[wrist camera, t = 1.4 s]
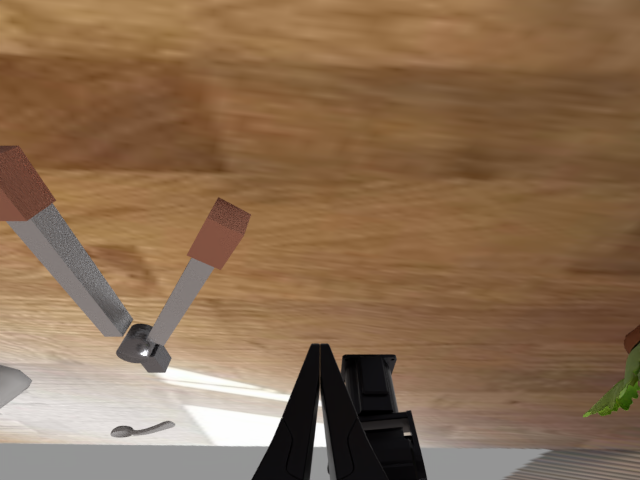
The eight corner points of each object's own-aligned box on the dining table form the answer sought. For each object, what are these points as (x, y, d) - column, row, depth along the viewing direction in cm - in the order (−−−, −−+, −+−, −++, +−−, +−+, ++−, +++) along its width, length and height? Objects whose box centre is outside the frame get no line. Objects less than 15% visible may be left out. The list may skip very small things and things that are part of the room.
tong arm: (165, 345, 32) (154, 369, 30) (127, 333, 31) (113, 357, 29) (251, 214, 21) (243, 237, 19) (197, 186, 19) (182, 207, 17)
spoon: (109, 424, 49) (103, 438, 48) (170, 412, 48) (166, 425, 46) (121, 430, 51) (115, 443, 50) (180, 418, 50) (176, 431, 48)
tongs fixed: (171, 358, 34) (162, 379, 32) (142, 358, 34) (130, 379, 32) (34, 145, 18) (-3, 162, 16) (-23, 145, 18) (-67, 162, 16)
